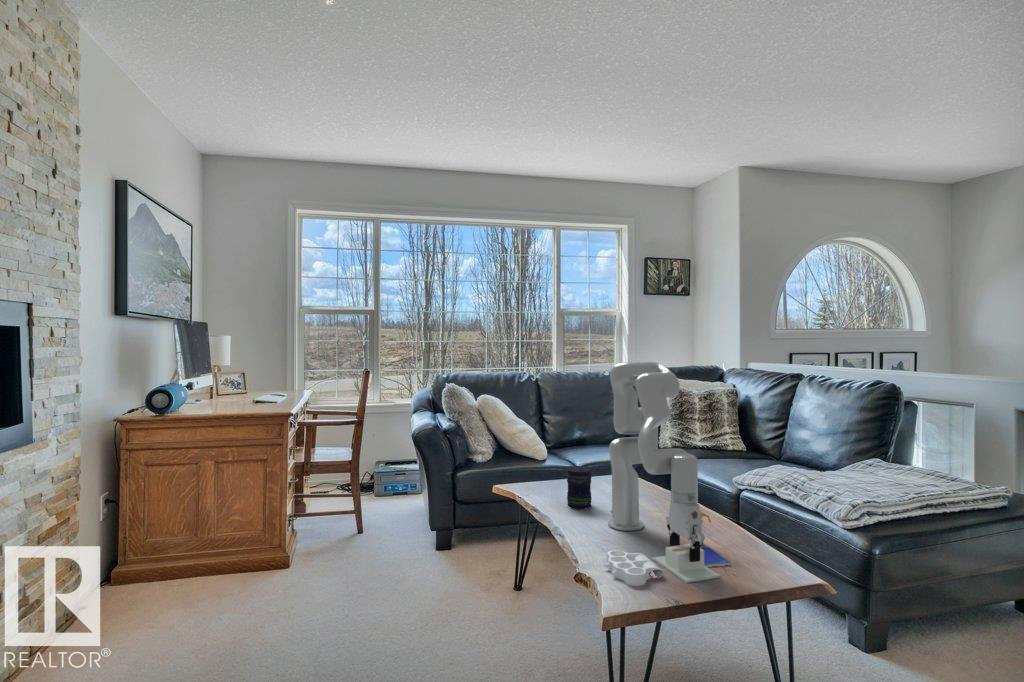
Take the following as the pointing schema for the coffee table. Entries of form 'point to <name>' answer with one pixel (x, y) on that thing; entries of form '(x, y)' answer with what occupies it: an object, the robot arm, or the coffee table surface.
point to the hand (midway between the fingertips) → (684, 554)
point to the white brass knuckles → (631, 567)
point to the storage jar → (579, 487)
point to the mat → (689, 572)
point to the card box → (682, 558)
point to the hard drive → (713, 558)
